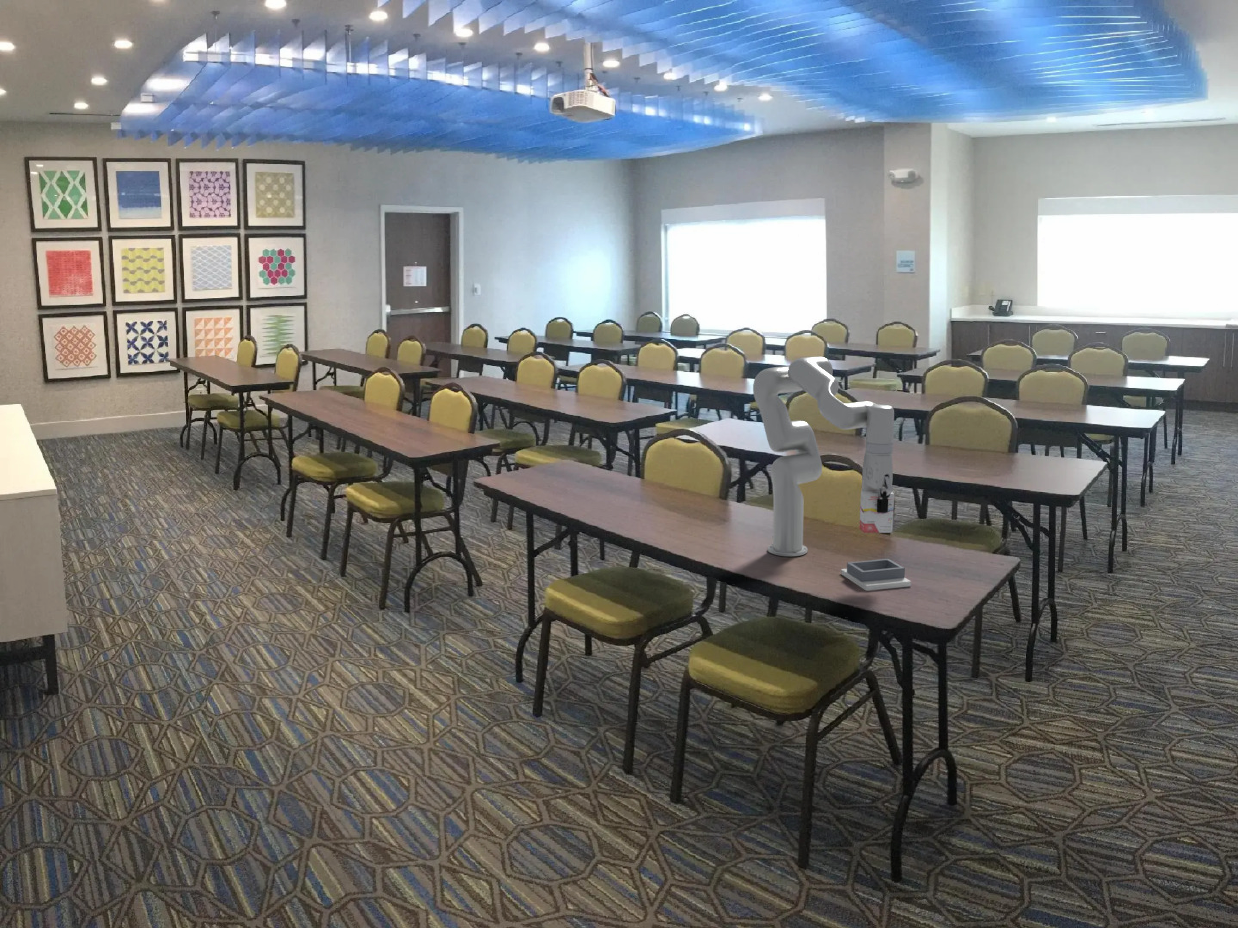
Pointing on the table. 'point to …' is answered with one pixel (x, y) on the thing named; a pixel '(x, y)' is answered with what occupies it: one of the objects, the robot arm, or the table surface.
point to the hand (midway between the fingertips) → (876, 509)
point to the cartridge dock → (876, 574)
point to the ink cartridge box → (875, 512)
